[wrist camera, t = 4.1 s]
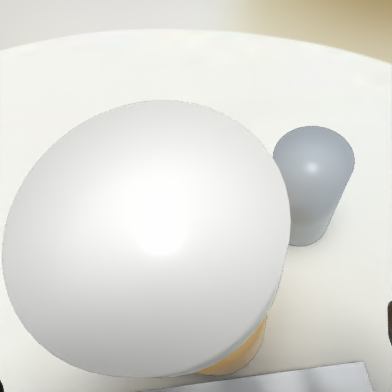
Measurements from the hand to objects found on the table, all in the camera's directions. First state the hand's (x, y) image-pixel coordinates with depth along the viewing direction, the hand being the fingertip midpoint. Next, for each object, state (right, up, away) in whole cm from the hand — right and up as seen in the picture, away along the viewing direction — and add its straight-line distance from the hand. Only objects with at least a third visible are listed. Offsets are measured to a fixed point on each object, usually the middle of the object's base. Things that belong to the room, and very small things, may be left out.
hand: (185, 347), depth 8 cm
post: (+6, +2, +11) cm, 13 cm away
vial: (+1, -3, +10) cm, 10 cm away
